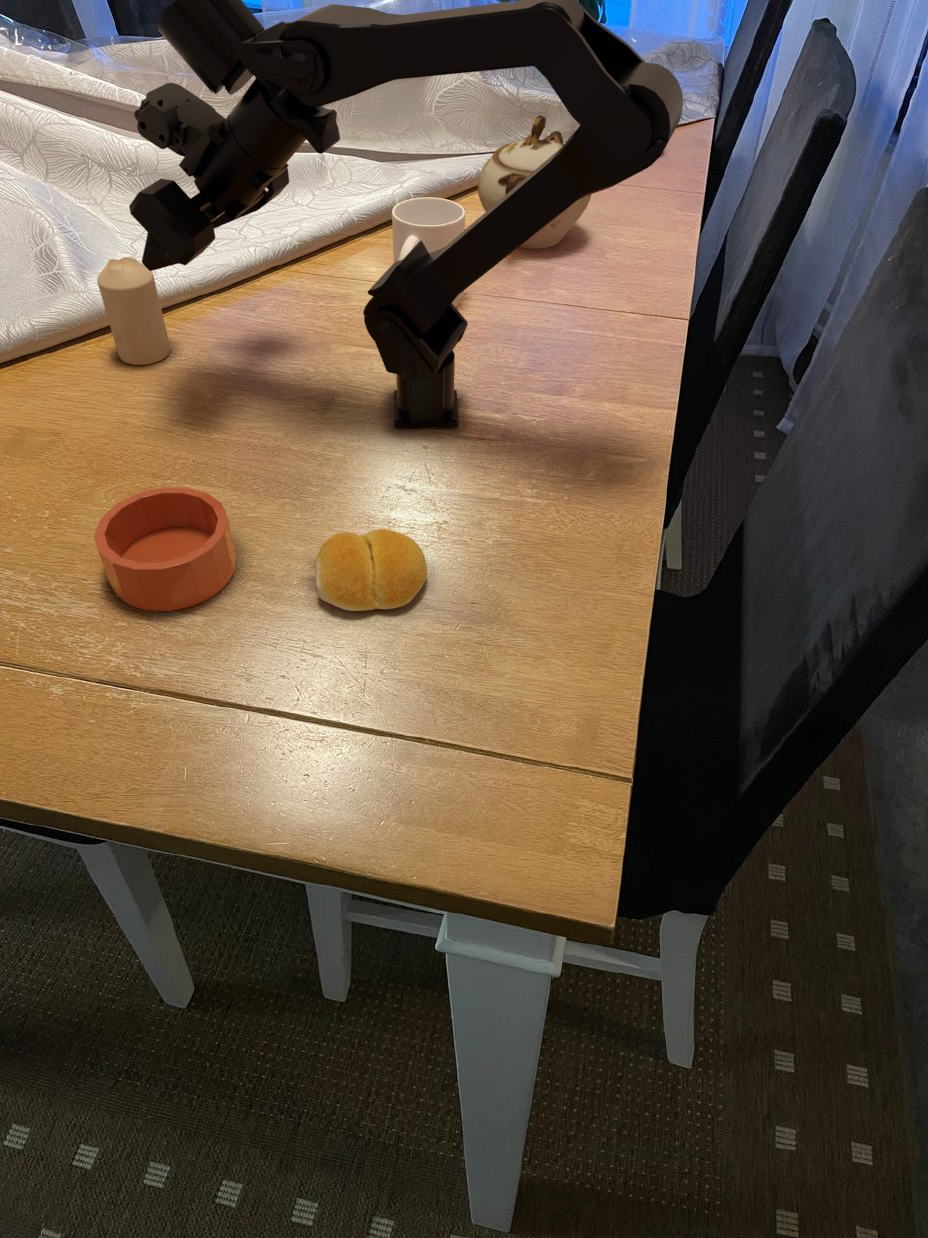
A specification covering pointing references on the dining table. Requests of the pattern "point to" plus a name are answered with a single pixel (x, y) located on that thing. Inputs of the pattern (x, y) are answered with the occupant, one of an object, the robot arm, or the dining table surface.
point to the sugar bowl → (514, 167)
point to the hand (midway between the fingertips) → (173, 246)
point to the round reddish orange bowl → (166, 548)
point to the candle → (134, 311)
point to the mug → (426, 226)
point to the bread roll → (370, 570)
